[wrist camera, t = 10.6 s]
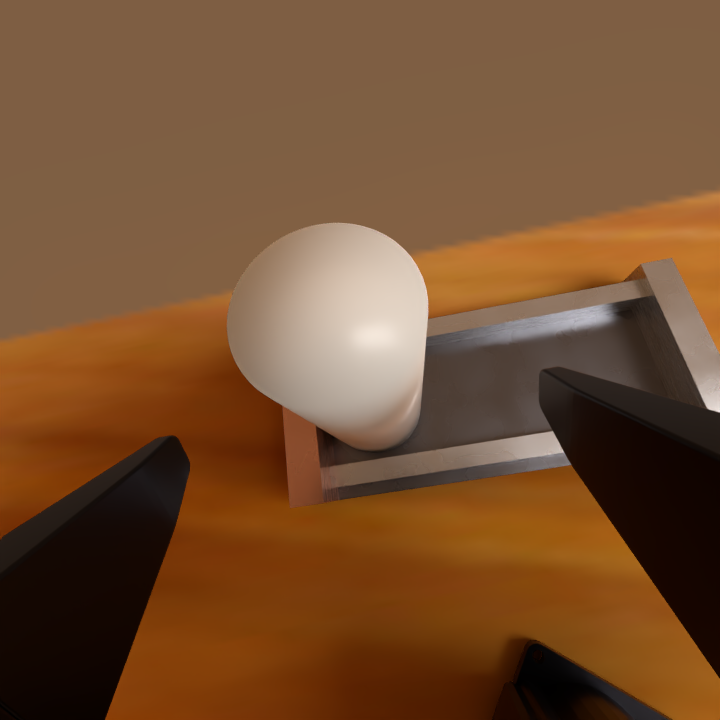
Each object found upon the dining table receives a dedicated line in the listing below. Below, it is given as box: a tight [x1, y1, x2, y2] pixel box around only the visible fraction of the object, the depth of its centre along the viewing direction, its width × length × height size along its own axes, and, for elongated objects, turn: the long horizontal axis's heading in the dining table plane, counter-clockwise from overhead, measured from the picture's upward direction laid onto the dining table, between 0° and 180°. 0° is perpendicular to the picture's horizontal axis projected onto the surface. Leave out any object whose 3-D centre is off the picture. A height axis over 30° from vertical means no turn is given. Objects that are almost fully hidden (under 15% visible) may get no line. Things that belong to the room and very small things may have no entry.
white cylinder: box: [227, 223, 428, 453], centre depth 15 cm, size 5×5×12 cm
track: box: [282, 258, 720, 508], centre depth 19 cm, size 21×9×4 cm, turn 98°
